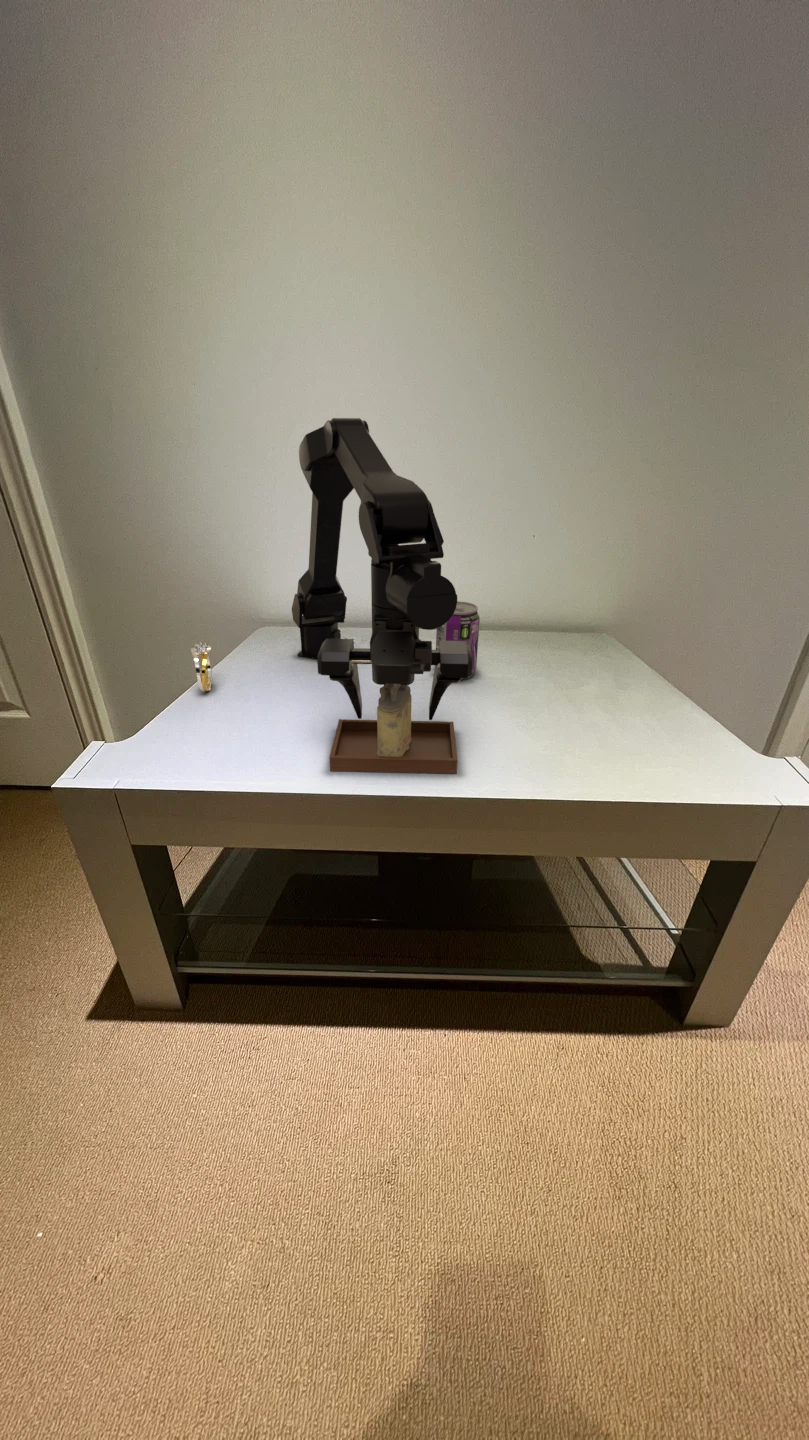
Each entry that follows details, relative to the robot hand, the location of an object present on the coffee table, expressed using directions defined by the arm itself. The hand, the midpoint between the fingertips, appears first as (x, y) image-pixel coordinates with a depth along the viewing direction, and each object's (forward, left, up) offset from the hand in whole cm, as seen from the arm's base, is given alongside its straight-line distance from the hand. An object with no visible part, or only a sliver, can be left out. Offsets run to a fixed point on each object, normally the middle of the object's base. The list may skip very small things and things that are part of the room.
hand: (395, 718), depth 78 cm
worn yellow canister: (0, 0, -5) cm, 5 cm away
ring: (-35, +7, -5) cm, 36 cm away
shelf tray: (0, 0, -5) cm, 5 cm away
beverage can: (+1, +28, -5) cm, 29 cm away
